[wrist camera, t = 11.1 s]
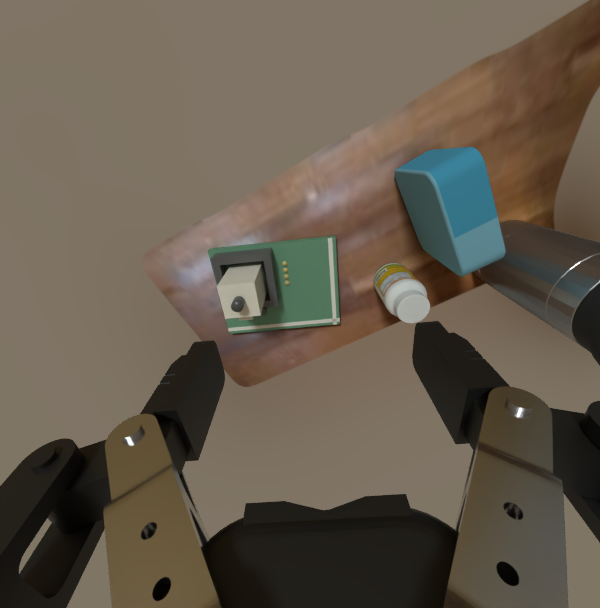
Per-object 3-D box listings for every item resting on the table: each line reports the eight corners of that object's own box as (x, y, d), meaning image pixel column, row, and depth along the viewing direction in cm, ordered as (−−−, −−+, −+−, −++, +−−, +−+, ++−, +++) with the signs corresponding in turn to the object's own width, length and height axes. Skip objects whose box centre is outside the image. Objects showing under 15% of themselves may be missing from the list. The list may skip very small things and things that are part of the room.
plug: (262, 260, 40) (252, 287, 31) (268, 295, 42) (260, 328, 34) (231, 263, 40) (213, 291, 32) (239, 298, 43) (224, 332, 34)
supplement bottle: (408, 292, 43) (435, 325, 35) (373, 297, 44) (391, 331, 35) (408, 259, 41) (437, 286, 32) (371, 265, 41) (390, 293, 33)
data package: (452, 234, 39) (509, 261, 29) (421, 249, 40) (465, 282, 30) (425, 149, 34) (482, 144, 24) (391, 169, 35) (430, 173, 25)
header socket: (284, 246, 39) (283, 251, 37) (292, 304, 43) (292, 312, 41) (215, 253, 39) (210, 258, 37) (230, 310, 44) (226, 318, 41)
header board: (334, 235, 39) (335, 237, 38) (339, 320, 46) (339, 324, 45) (209, 248, 40) (207, 250, 39) (231, 330, 46) (229, 333, 46)
